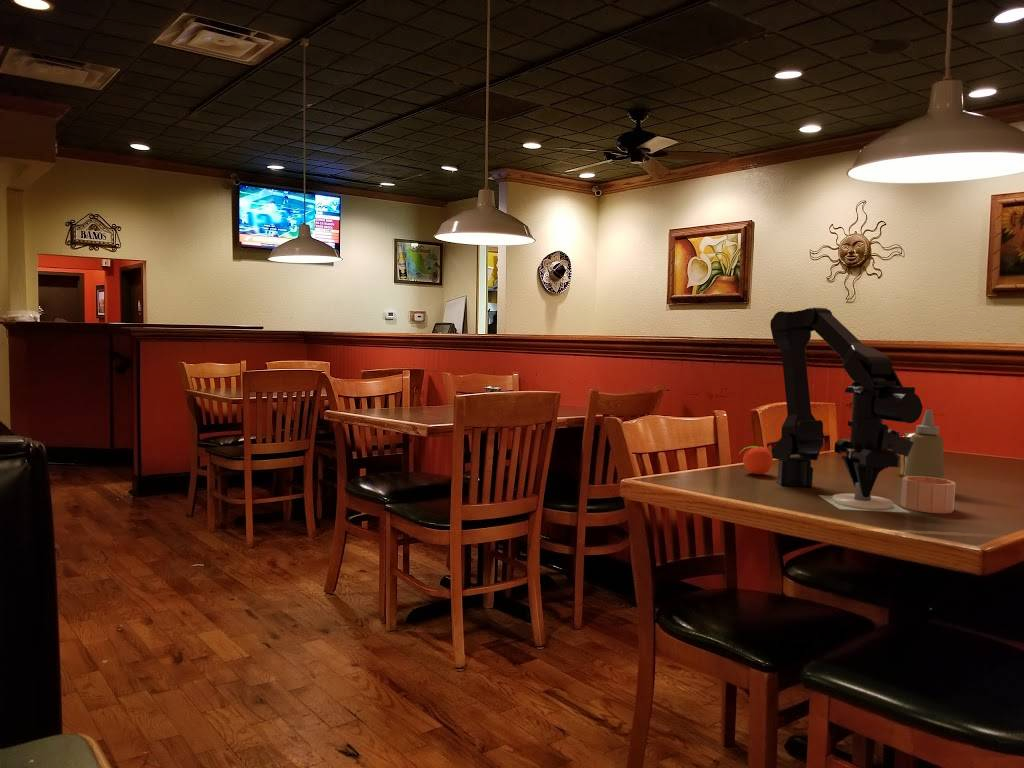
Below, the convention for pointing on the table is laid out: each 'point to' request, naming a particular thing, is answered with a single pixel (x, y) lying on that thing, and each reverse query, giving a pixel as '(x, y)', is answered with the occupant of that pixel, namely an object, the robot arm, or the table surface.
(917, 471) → the squeeze bottle
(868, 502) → the lid
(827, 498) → the mat
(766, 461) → the clementine
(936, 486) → the bowl
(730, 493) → the table surface
